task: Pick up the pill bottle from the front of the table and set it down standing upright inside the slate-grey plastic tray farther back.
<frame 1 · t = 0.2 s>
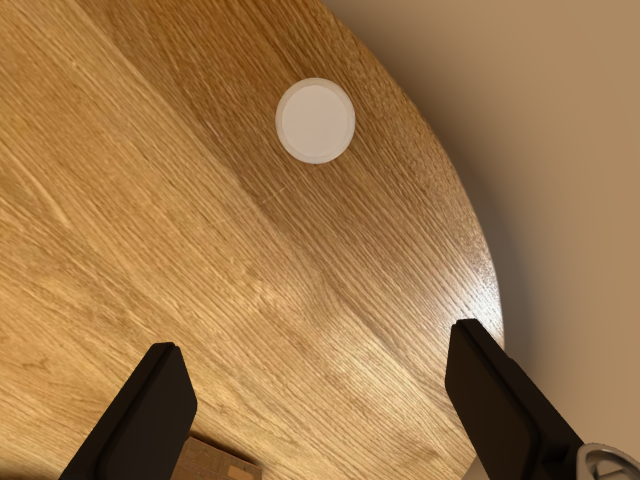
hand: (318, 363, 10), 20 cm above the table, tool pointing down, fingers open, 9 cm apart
pill bottle: (314, 122, 26), on the table
brown toy tank: (192, 456, 43), on the table
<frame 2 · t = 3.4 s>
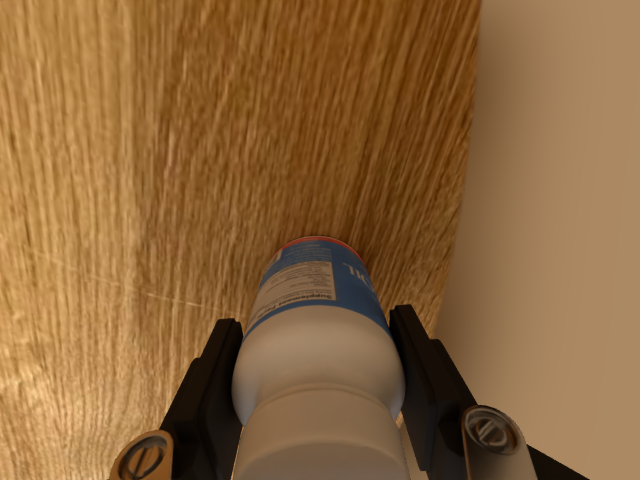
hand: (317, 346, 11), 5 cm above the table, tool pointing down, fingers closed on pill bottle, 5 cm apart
pill bottle: (315, 277, 16), on the table, touching gripper
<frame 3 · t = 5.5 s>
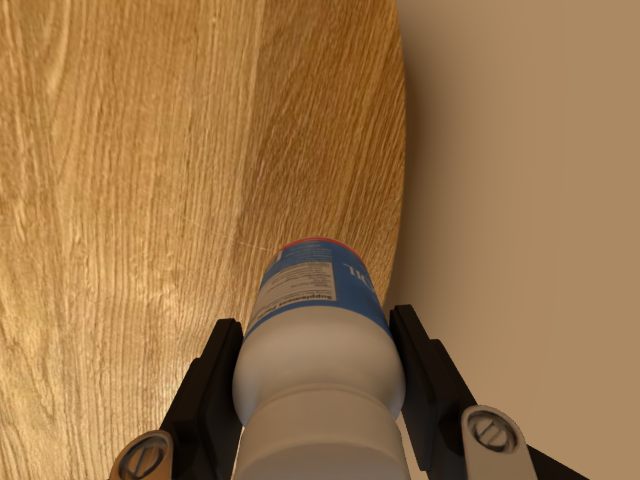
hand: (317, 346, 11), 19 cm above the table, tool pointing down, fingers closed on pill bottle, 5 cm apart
pill bottle: (316, 277, 16), point 14 cm above the table, touching gripper
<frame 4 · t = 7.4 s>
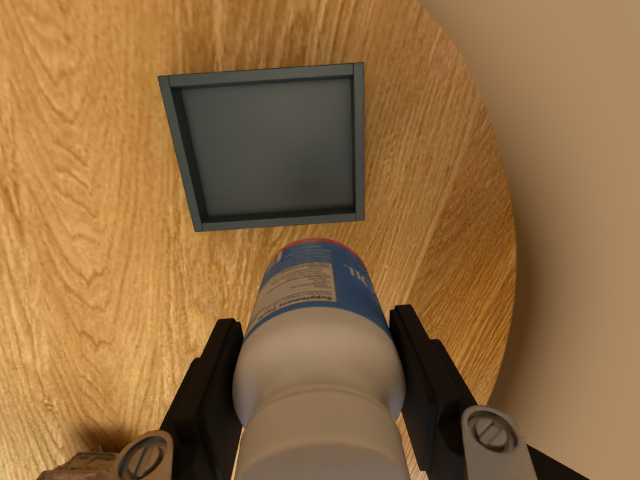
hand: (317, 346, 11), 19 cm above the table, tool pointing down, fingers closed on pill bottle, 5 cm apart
tray: (274, 152, 27), on the table
pill bottle: (316, 278, 16), point 14 cm above the table, touching gripper
brown toy tank: (113, 466, 43), on the table
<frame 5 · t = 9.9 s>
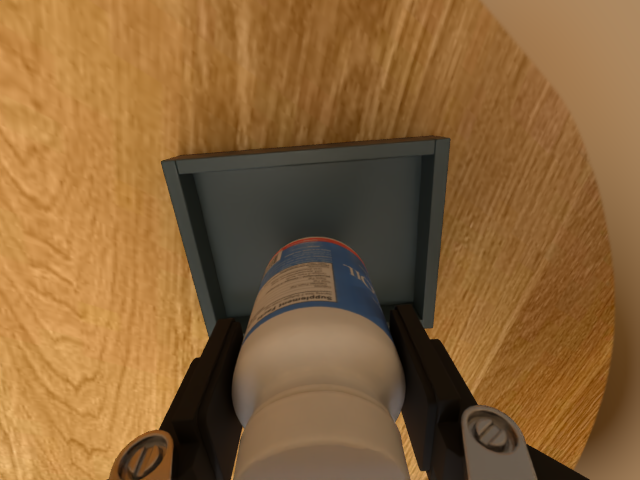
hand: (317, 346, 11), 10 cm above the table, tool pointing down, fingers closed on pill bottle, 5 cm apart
tray: (314, 239, 21), on the table
pill bottle: (315, 278, 16), point 5 cm above the table, touching gripper
when the fingers open (5 cm above the table, at t = 11.5 s): pill bottle stays where it is, resting on tray.
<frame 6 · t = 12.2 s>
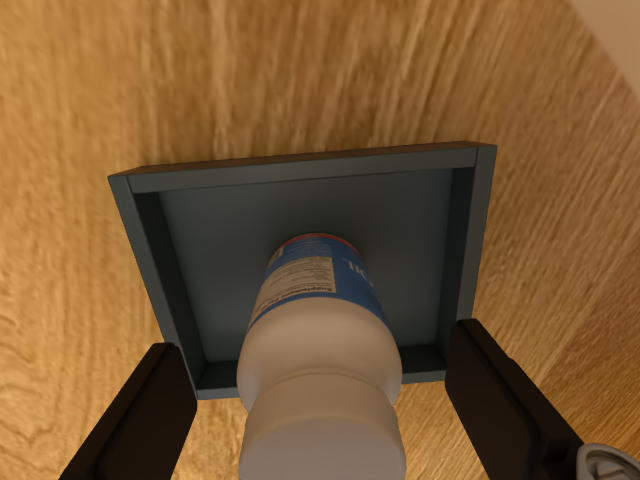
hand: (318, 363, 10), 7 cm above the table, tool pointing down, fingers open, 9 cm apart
tray: (314, 269, 16), on the table
pill bottle: (316, 273, 16), resting on tray
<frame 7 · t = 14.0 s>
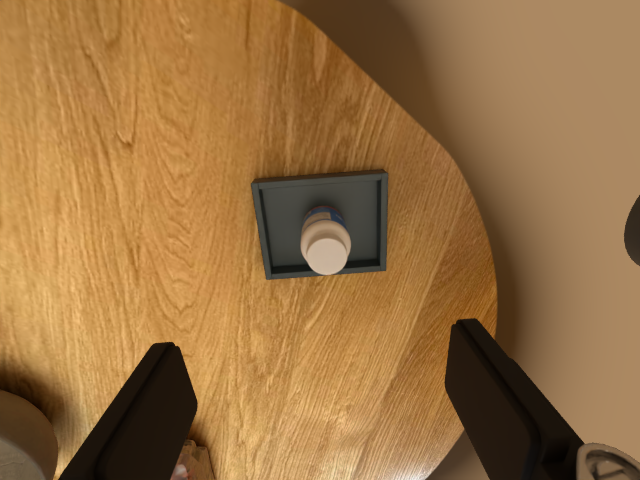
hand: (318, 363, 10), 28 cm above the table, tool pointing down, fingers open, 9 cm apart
tray: (322, 222, 38), on the table
pill bottle: (323, 224, 38), resting on tray
brown toy tank: (182, 452, 55), on the table
bowl: (6, 410, 49), on the table
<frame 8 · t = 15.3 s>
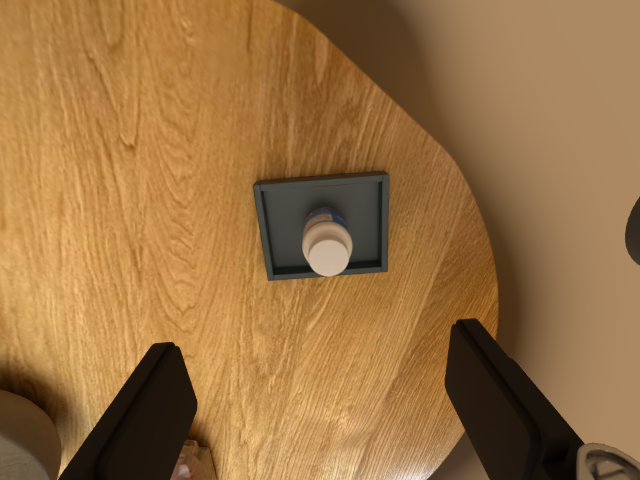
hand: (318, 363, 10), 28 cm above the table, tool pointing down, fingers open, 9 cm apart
tray: (323, 224, 38), on the table
pill bottle: (324, 225, 38), resting on tray
brown toy tank: (184, 452, 55), on the table
bowl: (10, 411, 50), on the table
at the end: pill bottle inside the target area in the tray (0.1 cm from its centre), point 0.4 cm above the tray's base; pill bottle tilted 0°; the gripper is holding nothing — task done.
